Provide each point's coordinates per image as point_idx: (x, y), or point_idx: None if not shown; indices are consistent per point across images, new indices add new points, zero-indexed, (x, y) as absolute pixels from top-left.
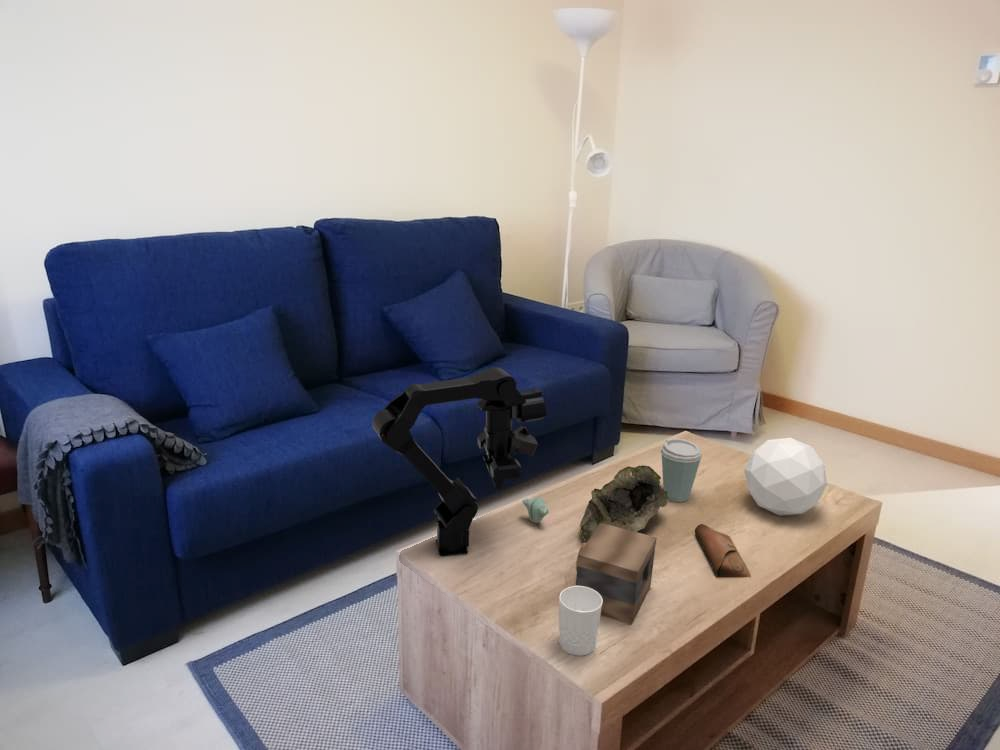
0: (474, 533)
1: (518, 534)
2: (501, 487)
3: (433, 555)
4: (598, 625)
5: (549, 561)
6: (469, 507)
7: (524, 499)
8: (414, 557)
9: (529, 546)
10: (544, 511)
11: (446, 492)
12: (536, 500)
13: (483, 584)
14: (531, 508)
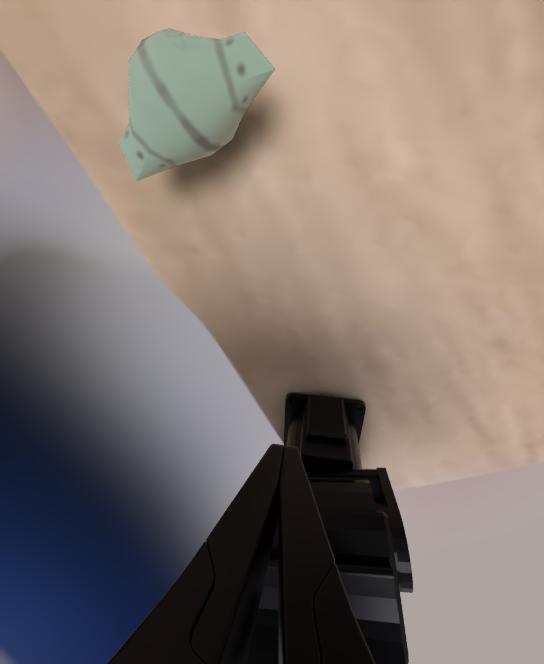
0: (262, 358)
1: (292, 226)
2: (299, 455)
3: None
4: None
5: (524, 150)
6: (411, 575)
7: (128, 163)
8: None
9: (383, 206)
10: (261, 69)
11: None
12: (179, 100)
13: (527, 403)
14: (209, 145)
